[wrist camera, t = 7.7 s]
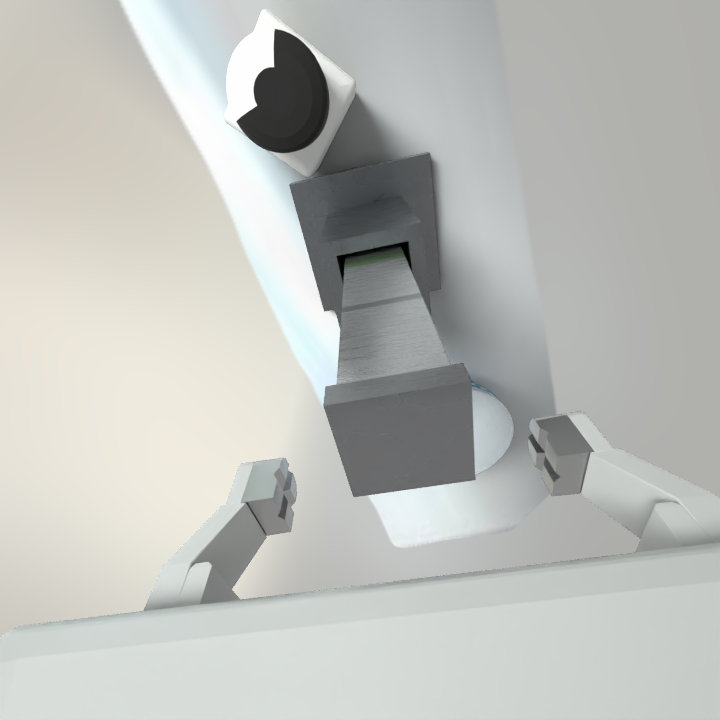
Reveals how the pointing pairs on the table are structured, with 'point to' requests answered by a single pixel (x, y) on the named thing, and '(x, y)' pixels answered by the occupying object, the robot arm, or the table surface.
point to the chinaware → (489, 428)
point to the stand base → (369, 221)
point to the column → (396, 384)
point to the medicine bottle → (286, 94)
